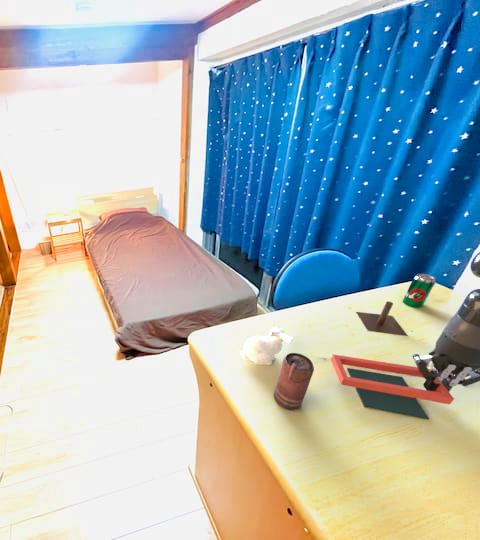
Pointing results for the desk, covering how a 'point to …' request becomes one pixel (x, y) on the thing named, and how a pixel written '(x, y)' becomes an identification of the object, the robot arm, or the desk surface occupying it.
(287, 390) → the can
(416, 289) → the soda can
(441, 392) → the loop
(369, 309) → the desk surface
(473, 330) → the robot arm
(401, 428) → the desk surface
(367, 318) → the stand
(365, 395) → the mat
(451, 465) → the desk surface
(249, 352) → the rabbit
